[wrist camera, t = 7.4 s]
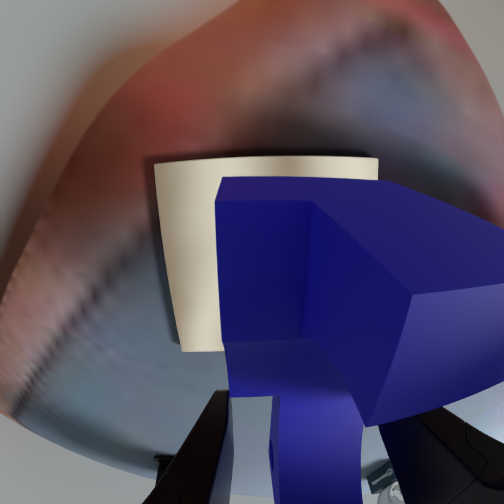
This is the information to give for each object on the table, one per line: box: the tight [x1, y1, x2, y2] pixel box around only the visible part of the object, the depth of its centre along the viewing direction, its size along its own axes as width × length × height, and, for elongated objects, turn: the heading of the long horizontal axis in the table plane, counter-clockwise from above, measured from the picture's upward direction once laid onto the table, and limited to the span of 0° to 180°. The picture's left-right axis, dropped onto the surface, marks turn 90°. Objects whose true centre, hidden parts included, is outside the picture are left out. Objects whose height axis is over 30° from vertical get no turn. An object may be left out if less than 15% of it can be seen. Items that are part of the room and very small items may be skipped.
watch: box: [367, 461, 405, 504], centre depth 25 cm, size 6×8×11 cm
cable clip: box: [214, 176, 504, 504], centre depth 7 cm, size 12×4×6 cm, turn 0°
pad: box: [154, 156, 378, 352], centre depth 17 cm, size 12×12×1 cm
